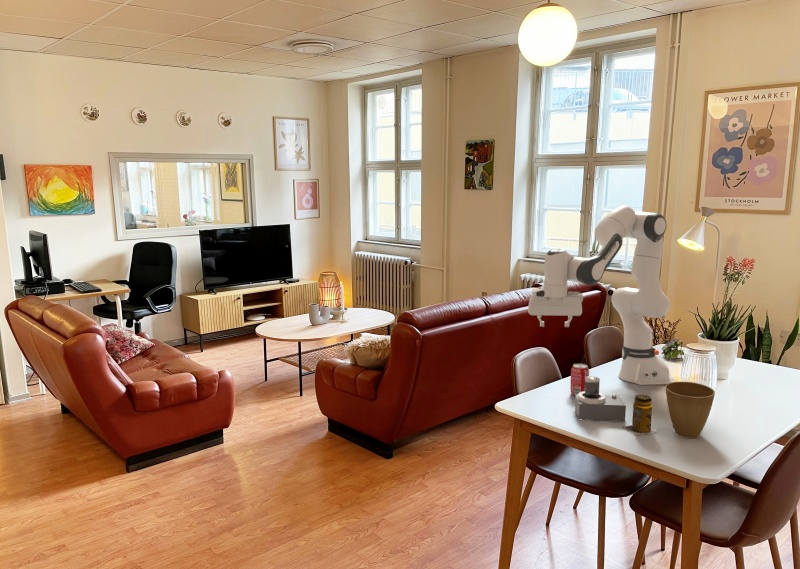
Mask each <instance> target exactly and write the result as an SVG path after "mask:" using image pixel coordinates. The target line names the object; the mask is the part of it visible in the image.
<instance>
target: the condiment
mask: <svg viewBox="0 0 800 569" xmlns="http://www.w3.org/2000/svg"><path fill="white" fill-rule="evenodd" d="M632 405H633V406H632V419H631V420H632V422H631V425H622V428H623V429H624V430H626V431H627V432H629V433H630V434H631V435H633V436H638V435H639V436H640V435H649V434H650V435H651V434H656V433H657V432H656V431H655V430H653V429H652V418H653V417H652V416H653V415H652V414H653V405H652V397H651V396H650V395H647V394H636V395H635V396H634V402H633V404H632Z"/></svg>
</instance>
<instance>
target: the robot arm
mask: <svg viewBox="0 0 800 569" xmlns="http://www.w3.org/2000/svg"><path fill="white" fill-rule="evenodd" d="M666 230H667V220H666V218H665V216H664V215H662V214H661V213H658V212H647V211H638V212H637V211H636V212H635V210H634V209H633V208H631V207H630V206H627V205H621V206H618V207H617V208H615V209H613V210H612V211H611V212H609V213H608V214H607V215H606V216H604V217H603V218H602V219H601V220H600V221H599V222H598V223H597V225H596V227H595V228H594V237H595V239H596V241H597V243H598V244H599V245H600V246H601V248H600V249H599V251H598V252H597V253H596V255H594V256H592V257H580V256H575V255H572V254H570V253H569V252H567V250H566V249H565V248H554V249H553V248H552V249H549V250H548V251H547V252H546V254H545V257H544V264H543V274H544V280H543V286H542V285H541V286H538V287H536V288H533V289H532V290H531V294H532V295H531V296H530V298H529V301H528V307H527V312H528V314H529V315H530V316H536V317H537V319H538V321H539V327H545V321H544V320H542V319H541V318H542V316H567V318H568V319H567V321H564V327H565V328H569V327H570V323H571V321H572V319H573V317H580V316H581V315H582V314H583V305H582V303H583V301H584V295H583V294H582V292H579V291H571V290H570V291H568V281H571V282H573V283H579V284H580V283H581V284H583V285H587V286H594V285H596V284H598V283H599V282H600V281H601V280H602V278H603V275H604V274H605V271H606V270H607V268H608V267H609V265H610V264H611V262H613V260H614V258H615V257H616V256H617V254H618V253H619V252H620V250H621V248H622V246H623V242H624V240H623V239H624V238H629V239H636V245H635V248H634V252H633V259H632V265H631V271H630V273H631V276H632V277H633V278H634V279H636V281H637V283H638V288H635V287H634V288H633V287H619V288H616V289H615V290H614V291H613V293H612V295H611V299H610V300H611V305H612V307H613V308H614V309H615V310H616V311H617V313H618V314H619V316H620V319H621V322H622V325H623V345H622V348H621V358H622V360H621V361H622V362H621V366H620V370H619V373H618V378H619V379H620V380H623V381H626V382H629V383H633V384H636V385H639V386H640V385H641V386H651V385H653V386H654V385H667V384H669V383H672V382H676V378H675V377H674V376H673V375H672V374H670V369H669V367H668V365H667V364H666V363H665V362H664V361H663V360H662V359H661V358H660V357H658V355H660V350H658V349H656V348H655V347H653V346H652V343H653V329H652V328H651V326H650V325H649V324H648V323H647V322H646V320H645V319H644V317H645V318H650V319H651V318H652V319H654V318H663V317H665V316H666V315H667V313H669V310H670V307H671V305H670V303H671V302H670V299H669V298H668V296H667V295H666V294H665V293H664V291H663V289H662V285H661V280H660V273H661V264H662V259H663V253H664V238H663V236H664V234H665V233H666Z"/></svg>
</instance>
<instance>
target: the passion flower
mask: <svg viewBox="0 0 800 569" xmlns="http://www.w3.org/2000/svg"><path fill="white" fill-rule="evenodd" d="M679 340H680V338H679V337H677V338H674V339H673V340H671V341H670V337H669V338H666V339H664V340H663V341H662V344H665V343H666V344H665V345H663V346H662V347H661V351H662V352H661V354H660V355H663V356H666V359H667V360H668V361H669V359H670V360H672V359H674V358H675V359H676V358H678V357H679V356H680V357H681V360H682V359H683V358H682V357H683V356H684V353H685V352H684V351H685V349H683V348H682V346H683V341H682V340H680V341H679ZM678 341H679V342H678ZM679 347H680V349H679Z"/></svg>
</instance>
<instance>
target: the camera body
mask: <svg viewBox="0 0 800 569" xmlns="http://www.w3.org/2000/svg"><path fill="white" fill-rule="evenodd" d="M574 396H575V397H574V398H575V399H574V411H575V410H576V411H575V414H576V413H577V414H576V415H577V419H578V418H579V419H582V420H581V421H597V420H598V421H599V422H600V421H601V422H604V421H605V422H624V423H625V422H626V417H627V416H626V415H627V414H626V412H627V405H626V403H625V401H624V399H623V398H622V396H621V395H617V394H615V393H612V394H610V395H609V394H607V395H606V394H603V393H601V392H599V398H597V399H590V398H586V397H585V391H584V392H580V393H579V394H575V395H574ZM579 419H578V420H579Z"/></svg>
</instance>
